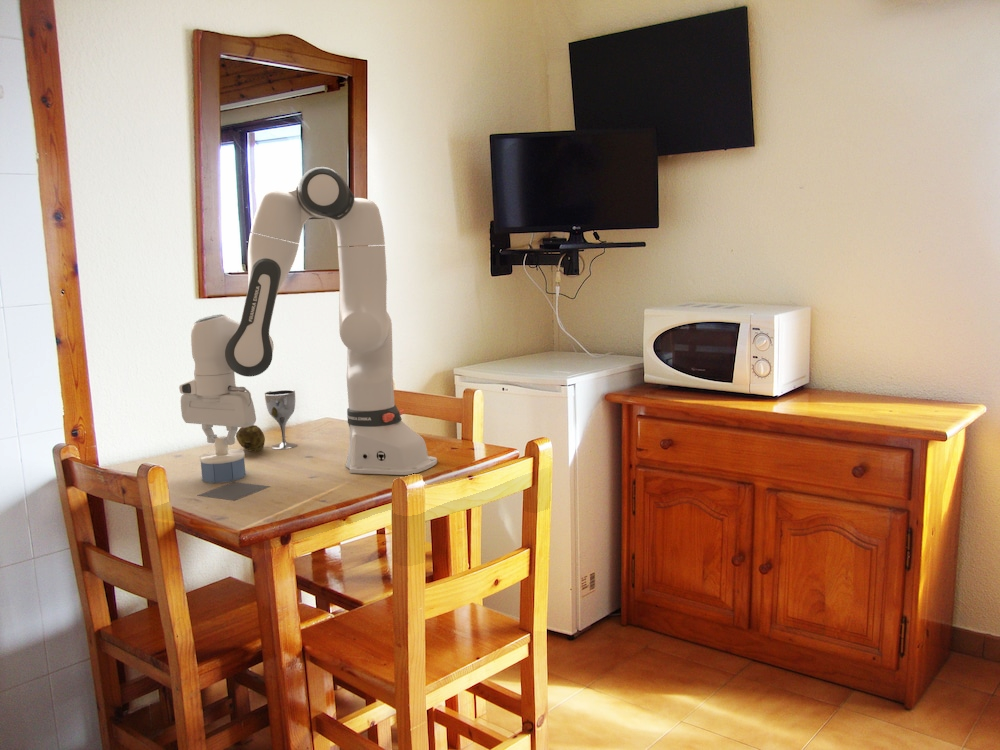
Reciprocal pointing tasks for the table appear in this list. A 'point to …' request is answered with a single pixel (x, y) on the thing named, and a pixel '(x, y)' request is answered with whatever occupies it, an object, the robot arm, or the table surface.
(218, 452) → the lid
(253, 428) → the potato
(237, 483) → the mat
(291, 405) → the silver goblet
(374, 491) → the table surface
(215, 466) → the bowl
